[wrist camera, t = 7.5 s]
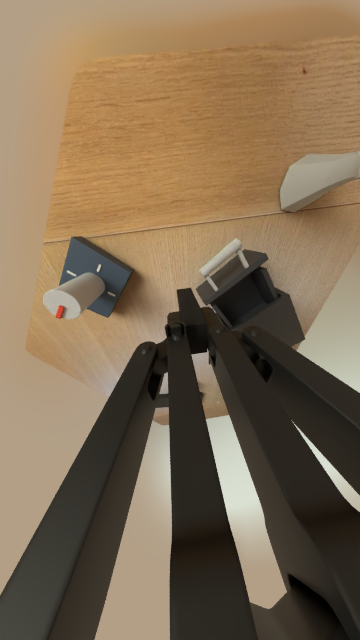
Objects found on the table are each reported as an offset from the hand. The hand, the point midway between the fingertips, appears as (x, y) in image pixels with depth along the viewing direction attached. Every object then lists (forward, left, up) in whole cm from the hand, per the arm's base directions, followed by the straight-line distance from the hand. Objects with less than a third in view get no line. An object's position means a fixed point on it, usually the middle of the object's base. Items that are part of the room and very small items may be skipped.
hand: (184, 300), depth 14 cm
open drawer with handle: (+6, +11, -15) cm, 20 cm away
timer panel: (-1, -16, -16) cm, 23 cm away
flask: (-9, +24, -17) cm, 30 cm away
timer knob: (-1, -16, -13) cm, 21 cm away
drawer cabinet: (+17, +18, -16) cm, 29 cm away
